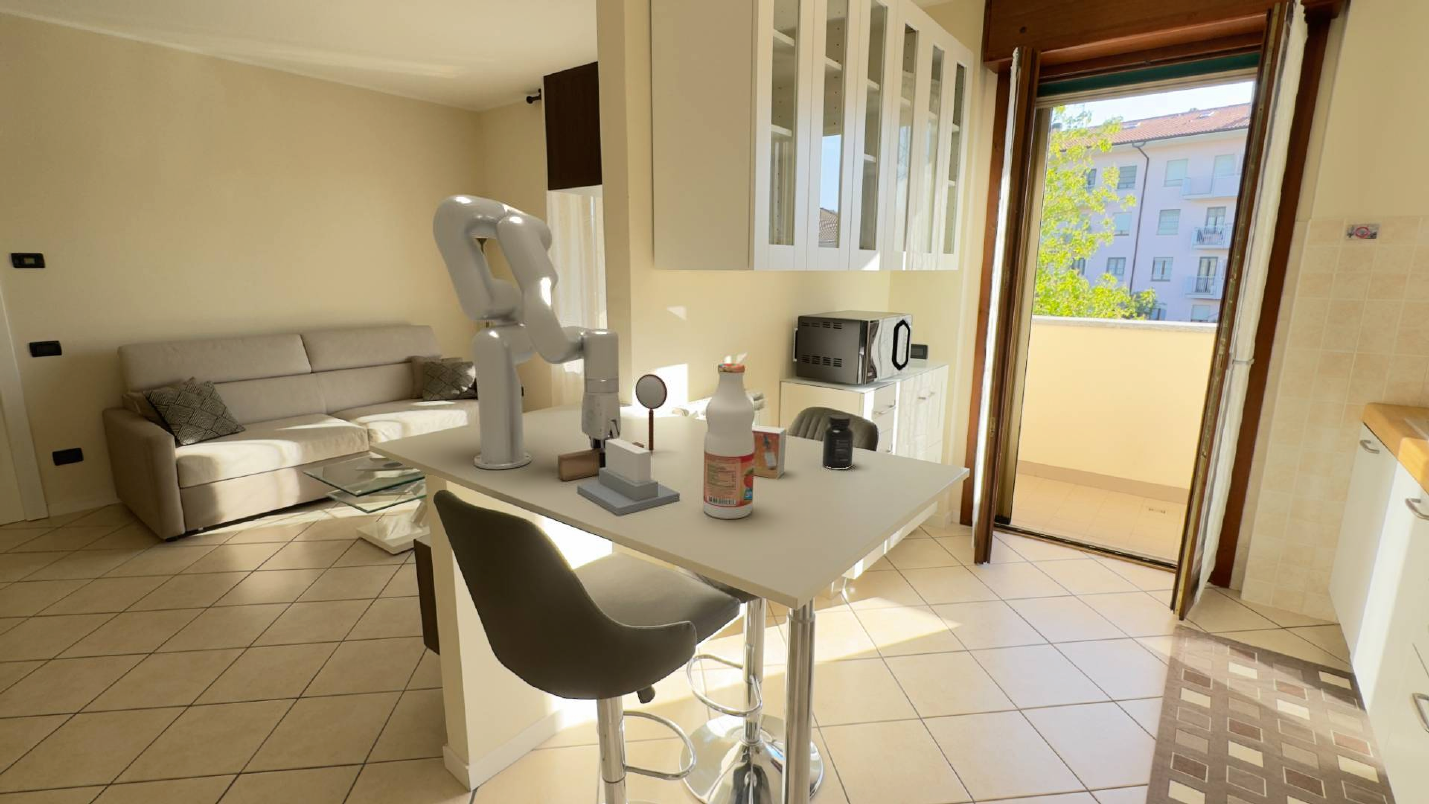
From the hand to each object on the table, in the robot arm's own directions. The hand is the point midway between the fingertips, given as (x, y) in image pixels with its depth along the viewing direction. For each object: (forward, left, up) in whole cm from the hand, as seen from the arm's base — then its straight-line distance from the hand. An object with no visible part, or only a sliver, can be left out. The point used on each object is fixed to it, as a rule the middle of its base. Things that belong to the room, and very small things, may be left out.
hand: (602, 466), depth 144 cm
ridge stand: (+17, -4, -1) cm, 18 cm away
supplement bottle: (+28, +47, -2) cm, 55 cm away
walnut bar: (0, 0, -1) cm, 1 cm away
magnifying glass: (-6, +17, -2) cm, 18 cm away
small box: (+22, +29, -2) cm, 36 cm away
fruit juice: (+35, +7, -2) cm, 36 cm away
